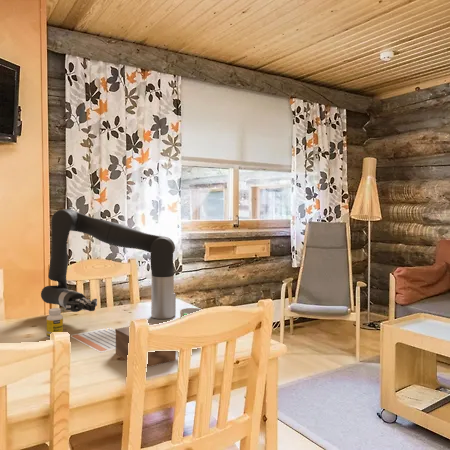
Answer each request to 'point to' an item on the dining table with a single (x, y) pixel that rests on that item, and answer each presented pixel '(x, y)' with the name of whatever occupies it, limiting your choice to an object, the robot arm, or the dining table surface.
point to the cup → (188, 311)
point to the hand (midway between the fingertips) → (92, 308)
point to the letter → (98, 339)
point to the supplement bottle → (54, 321)
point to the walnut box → (153, 357)
